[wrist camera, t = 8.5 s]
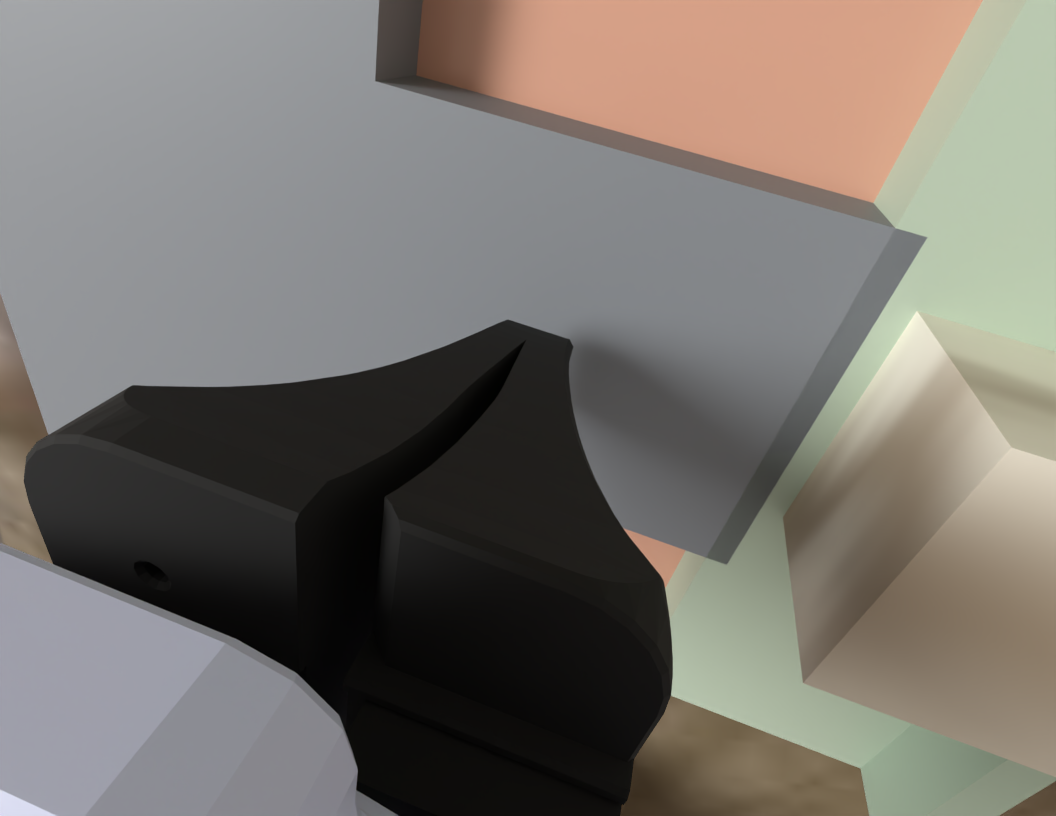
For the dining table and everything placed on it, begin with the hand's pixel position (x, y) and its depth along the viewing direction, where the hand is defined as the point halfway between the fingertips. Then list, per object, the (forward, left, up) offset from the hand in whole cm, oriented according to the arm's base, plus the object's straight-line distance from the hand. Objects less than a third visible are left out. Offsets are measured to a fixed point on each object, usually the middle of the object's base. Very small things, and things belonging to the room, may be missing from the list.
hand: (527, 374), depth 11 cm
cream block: (0, -8, -1) cm, 9 cm away
